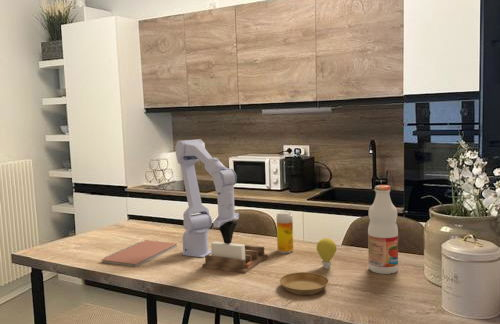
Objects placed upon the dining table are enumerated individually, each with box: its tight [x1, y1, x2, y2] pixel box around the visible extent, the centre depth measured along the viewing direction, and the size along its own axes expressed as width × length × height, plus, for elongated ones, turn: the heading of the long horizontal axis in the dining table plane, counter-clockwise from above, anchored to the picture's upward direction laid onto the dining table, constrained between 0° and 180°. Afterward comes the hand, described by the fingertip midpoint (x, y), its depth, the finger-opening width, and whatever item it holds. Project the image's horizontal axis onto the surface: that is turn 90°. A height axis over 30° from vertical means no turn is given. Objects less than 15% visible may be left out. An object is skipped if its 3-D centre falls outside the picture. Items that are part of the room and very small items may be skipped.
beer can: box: [276, 211, 294, 254], centre depth 175 cm, size 6×6×15 cm
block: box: [210, 241, 246, 264], centre depth 160 cm, size 12×2×7 cm, turn 64°
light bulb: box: [316, 237, 337, 269], centre depth 155 cm, size 7×7×10 cm
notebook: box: [101, 239, 178, 268], centre depth 179 cm, size 27×17×2 cm, turn 156°
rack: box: [201, 244, 268, 274], centre depth 165 cm, size 17×18×4 cm
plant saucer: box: [279, 271, 330, 296], centre depth 138 cm, size 15×15×3 cm
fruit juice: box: [367, 184, 399, 275], centre depth 150 cm, size 9×9×28 cm
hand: (227, 243), depth 159 cm, fingers closed
